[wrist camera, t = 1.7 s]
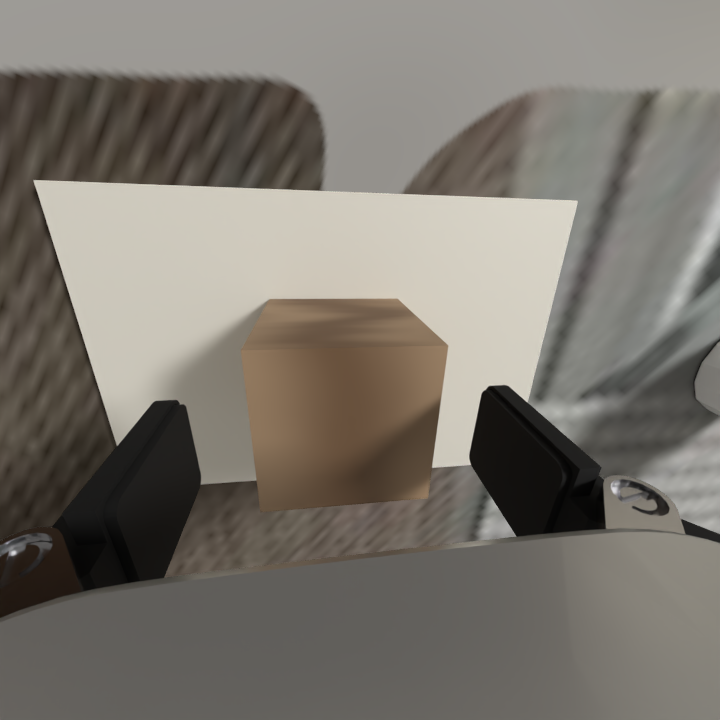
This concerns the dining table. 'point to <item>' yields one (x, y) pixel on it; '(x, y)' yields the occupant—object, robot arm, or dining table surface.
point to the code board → (295, 291)
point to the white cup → (709, 381)
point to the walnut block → (342, 402)
